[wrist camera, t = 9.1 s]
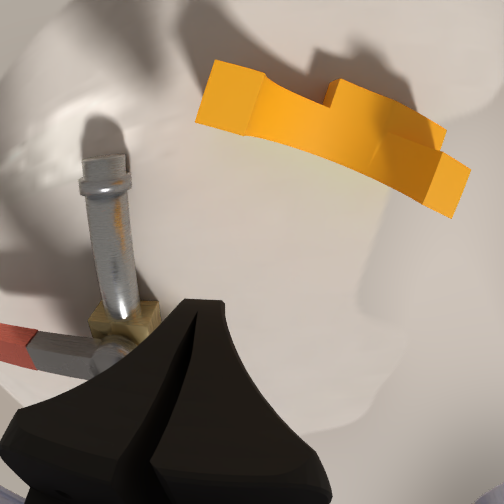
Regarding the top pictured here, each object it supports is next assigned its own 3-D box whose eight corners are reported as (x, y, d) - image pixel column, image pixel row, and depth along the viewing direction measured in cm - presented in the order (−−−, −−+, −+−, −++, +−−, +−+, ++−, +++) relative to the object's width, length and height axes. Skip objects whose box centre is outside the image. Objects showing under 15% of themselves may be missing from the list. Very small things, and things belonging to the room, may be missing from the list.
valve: (172, 383, 25) (165, 411, 22) (125, 377, 25) (115, 403, 22) (147, 152, 18) (127, 159, 15) (84, 156, 17) (58, 164, 15)
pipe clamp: (419, 126, 17) (482, 136, 11) (397, 186, 18) (451, 219, 13) (237, 52, 15) (229, 20, 9) (214, 120, 17) (194, 122, 11)
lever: (137, 336, 19) (128, 356, 17) (147, 371, 20) (140, 392, 18) (-5, 318, 19) (-18, 332, 17) (9, 348, 20) (-2, 363, 18)
